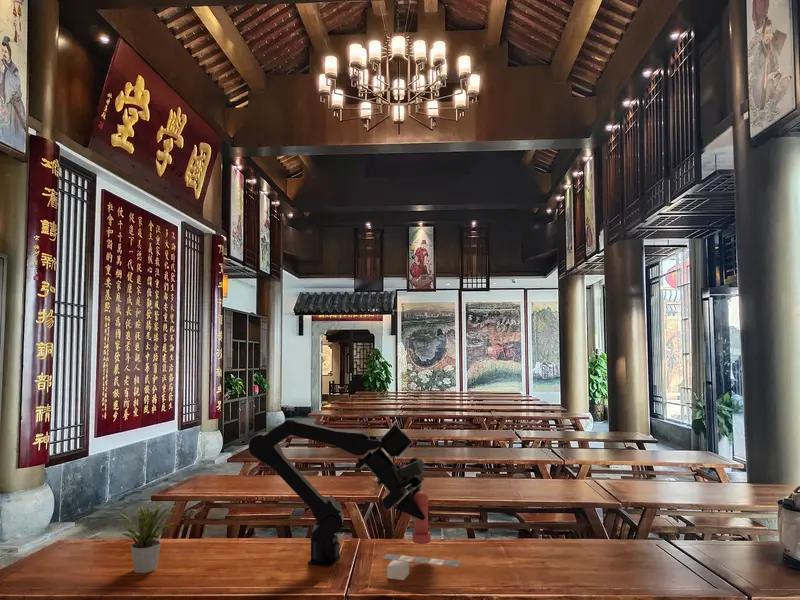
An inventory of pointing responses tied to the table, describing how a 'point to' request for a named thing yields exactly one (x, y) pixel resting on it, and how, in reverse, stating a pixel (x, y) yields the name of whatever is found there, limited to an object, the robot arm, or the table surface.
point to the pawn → (421, 526)
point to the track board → (422, 560)
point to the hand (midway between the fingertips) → (426, 517)
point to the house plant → (146, 539)
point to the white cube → (398, 570)
